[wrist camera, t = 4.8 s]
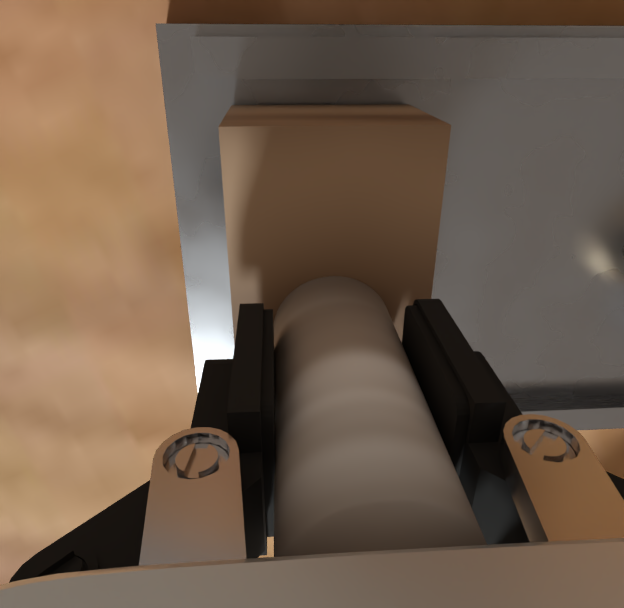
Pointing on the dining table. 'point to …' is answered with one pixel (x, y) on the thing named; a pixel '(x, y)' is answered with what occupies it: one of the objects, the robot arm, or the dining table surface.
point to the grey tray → (458, 181)
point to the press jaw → (344, 317)
